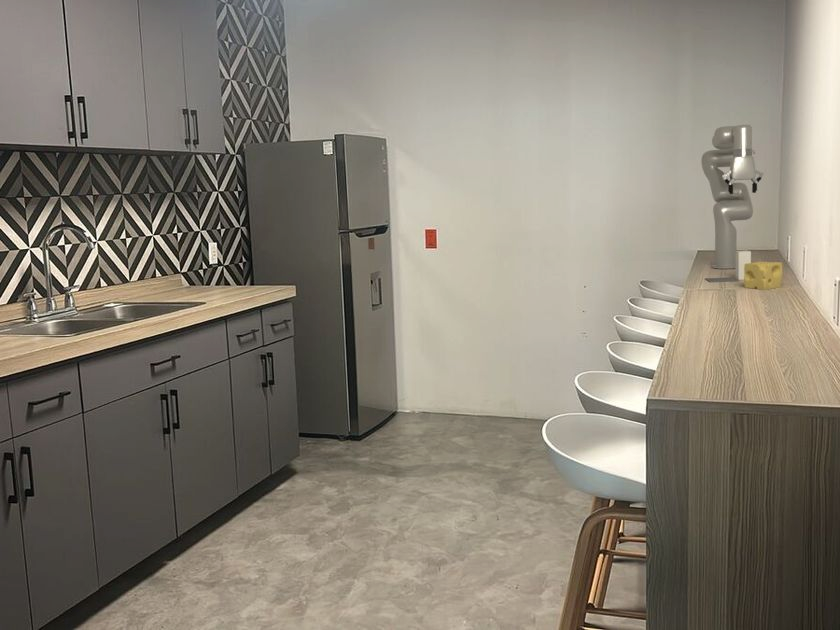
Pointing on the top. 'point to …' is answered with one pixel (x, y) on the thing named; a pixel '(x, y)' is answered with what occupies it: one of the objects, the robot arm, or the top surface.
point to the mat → (721, 279)
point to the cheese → (763, 275)
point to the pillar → (741, 263)
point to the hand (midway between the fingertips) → (742, 193)
